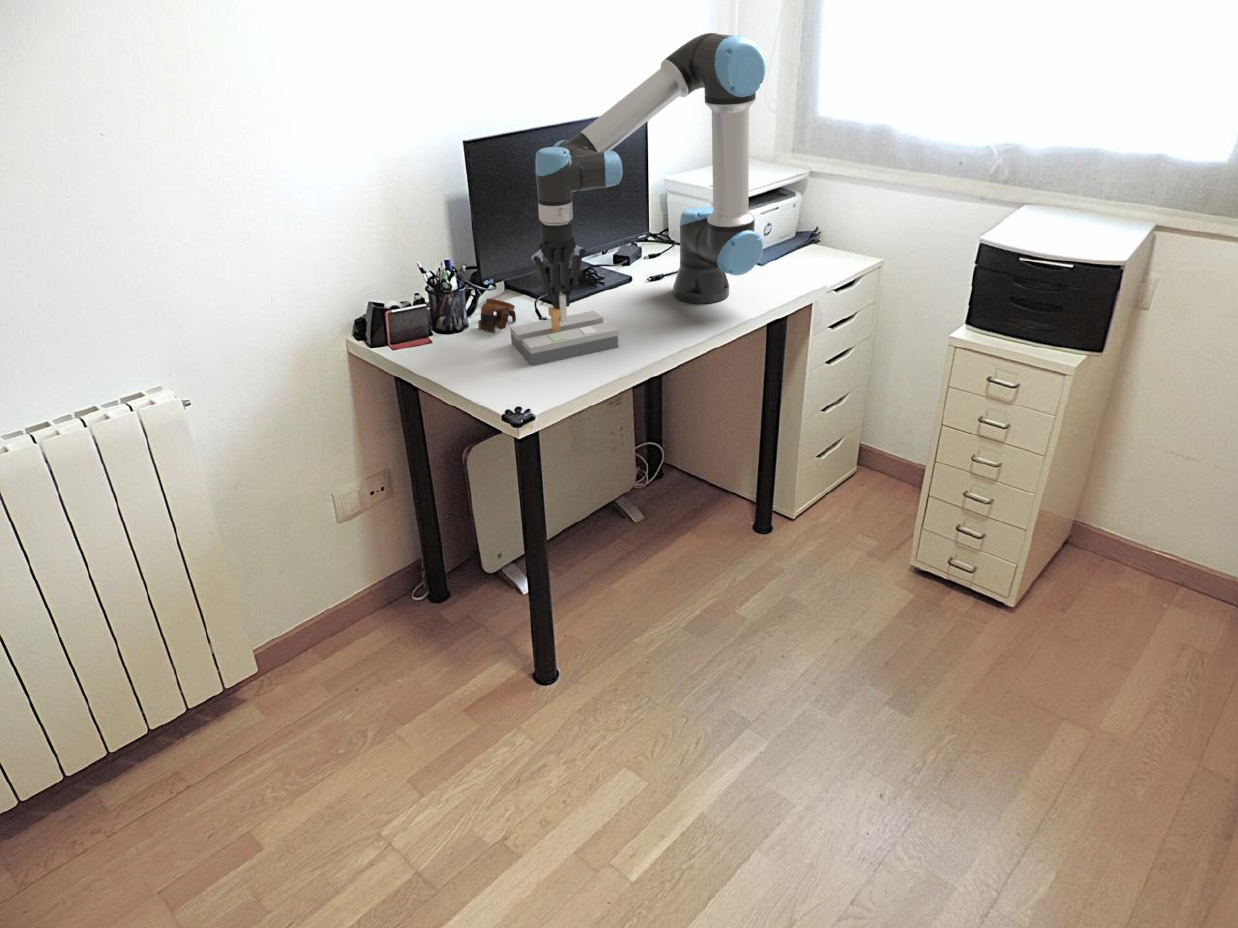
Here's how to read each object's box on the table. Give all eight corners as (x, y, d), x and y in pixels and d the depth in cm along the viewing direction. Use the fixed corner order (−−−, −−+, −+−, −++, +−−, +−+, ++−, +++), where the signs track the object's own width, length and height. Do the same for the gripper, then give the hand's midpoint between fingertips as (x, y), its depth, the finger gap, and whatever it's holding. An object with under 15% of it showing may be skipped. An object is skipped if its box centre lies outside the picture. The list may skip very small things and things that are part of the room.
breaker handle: (557, 331, 214) (556, 305, 211) (562, 336, 212) (560, 309, 208) (550, 333, 213) (548, 306, 210) (554, 337, 211) (552, 310, 208)
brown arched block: (470, 327, 228) (477, 296, 227) (503, 336, 233) (510, 305, 232) (488, 330, 218) (496, 297, 217) (522, 340, 223) (530, 307, 222)
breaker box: (594, 327, 224) (593, 309, 222) (618, 347, 213) (617, 328, 211) (511, 344, 217) (510, 326, 214) (531, 365, 206) (530, 347, 203)
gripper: (534, 229, 194) (542, 330, 206) (589, 221, 199) (593, 320, 211) (523, 221, 200) (530, 320, 212) (576, 213, 205) (581, 310, 217)
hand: (562, 320), depth 211 cm, fingers closed
